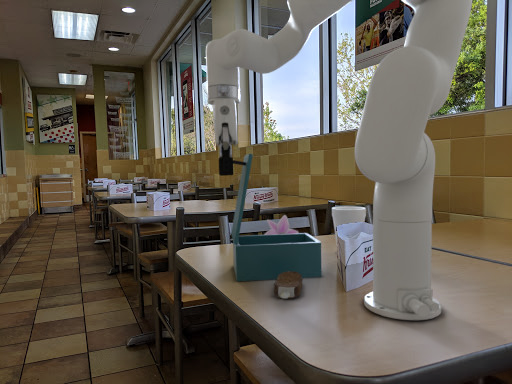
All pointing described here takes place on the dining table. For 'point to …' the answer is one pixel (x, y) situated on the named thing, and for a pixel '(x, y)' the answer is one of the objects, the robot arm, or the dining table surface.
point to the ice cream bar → (288, 285)
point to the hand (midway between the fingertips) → (226, 174)
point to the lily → (280, 227)
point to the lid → (241, 196)
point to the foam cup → (347, 215)
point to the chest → (276, 256)
